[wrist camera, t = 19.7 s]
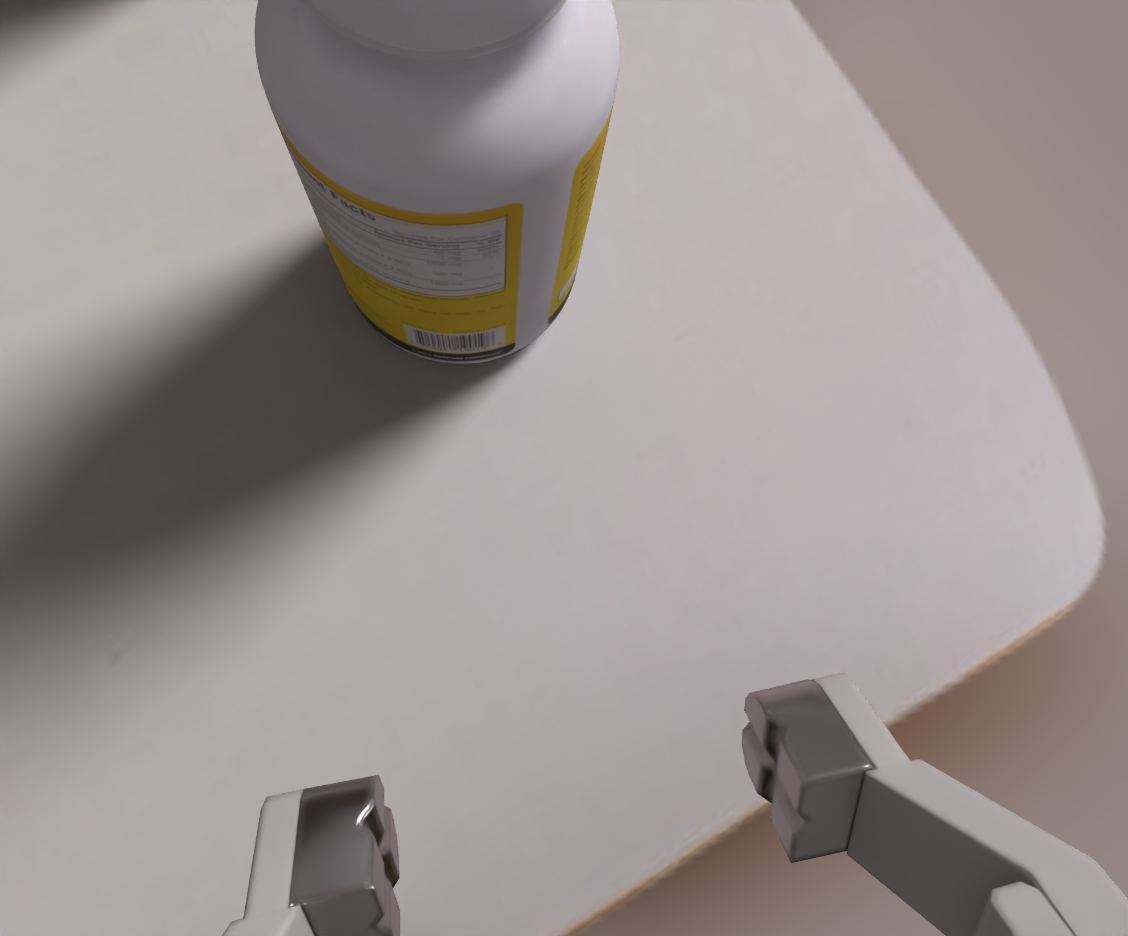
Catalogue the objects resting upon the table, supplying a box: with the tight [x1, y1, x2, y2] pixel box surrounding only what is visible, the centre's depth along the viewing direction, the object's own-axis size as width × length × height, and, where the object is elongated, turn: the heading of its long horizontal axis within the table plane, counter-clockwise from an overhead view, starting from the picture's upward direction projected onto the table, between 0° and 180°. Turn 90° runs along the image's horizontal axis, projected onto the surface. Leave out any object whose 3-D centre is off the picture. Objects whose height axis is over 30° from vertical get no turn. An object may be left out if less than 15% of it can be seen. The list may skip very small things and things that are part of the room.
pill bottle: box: [255, 0, 619, 364], centre depth 16 cm, size 6×6×12 cm
